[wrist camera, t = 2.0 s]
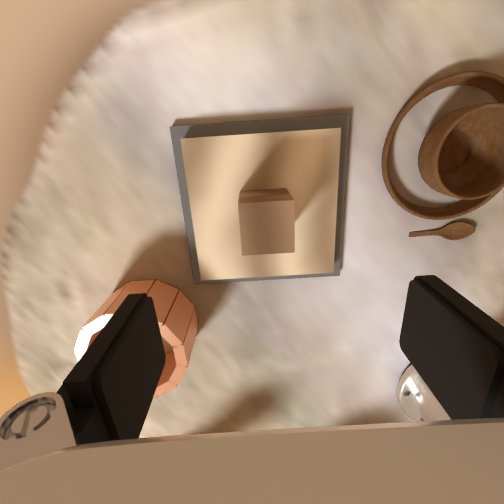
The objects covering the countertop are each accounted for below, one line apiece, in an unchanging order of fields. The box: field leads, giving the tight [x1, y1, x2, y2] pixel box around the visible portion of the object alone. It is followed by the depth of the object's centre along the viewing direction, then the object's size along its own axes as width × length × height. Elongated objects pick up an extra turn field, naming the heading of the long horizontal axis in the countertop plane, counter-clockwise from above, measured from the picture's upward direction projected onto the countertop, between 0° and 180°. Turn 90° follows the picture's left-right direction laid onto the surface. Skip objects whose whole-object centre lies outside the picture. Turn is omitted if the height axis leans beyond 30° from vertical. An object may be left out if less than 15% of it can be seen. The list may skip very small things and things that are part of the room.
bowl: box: [74, 280, 198, 398], centre depth 29 cm, size 10×10×6 cm
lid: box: [180, 128, 341, 281], centre depth 24 cm, size 13×13×6 cm
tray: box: [170, 114, 350, 284], centre depth 27 cm, size 15×15×1 cm
